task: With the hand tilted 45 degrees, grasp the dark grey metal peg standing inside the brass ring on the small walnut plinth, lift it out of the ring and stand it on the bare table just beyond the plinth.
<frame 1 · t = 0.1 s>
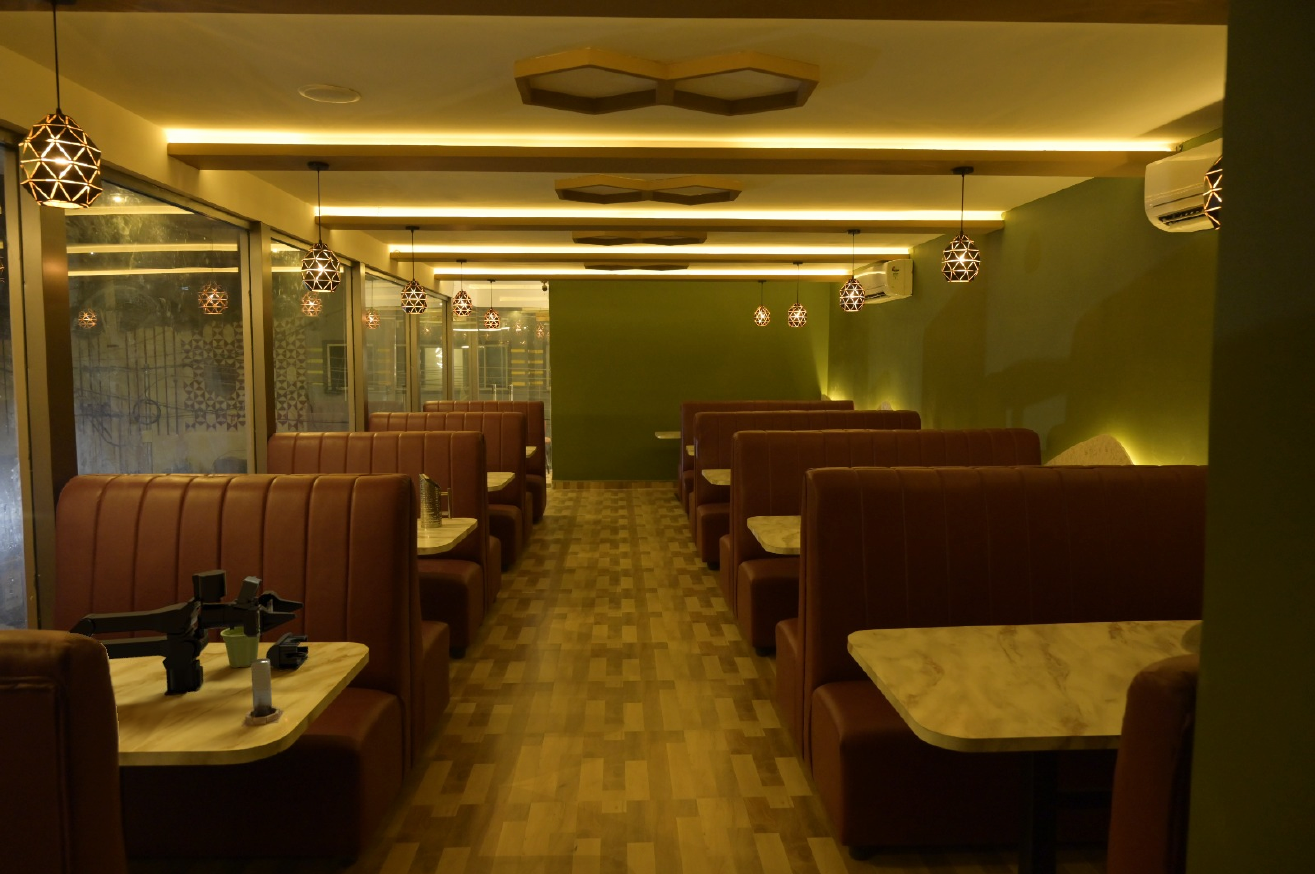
hand: (299, 610, 194), 17 cm above the table, tool horizontal, fingers open, 9 cm apart
plant pot: (243, 664, 207), on the table
peg: (263, 717, 171), point 1 cm above the table, touching ring stand
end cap: (288, 665, 206), on the table
ring stand: (263, 722, 171), on the table
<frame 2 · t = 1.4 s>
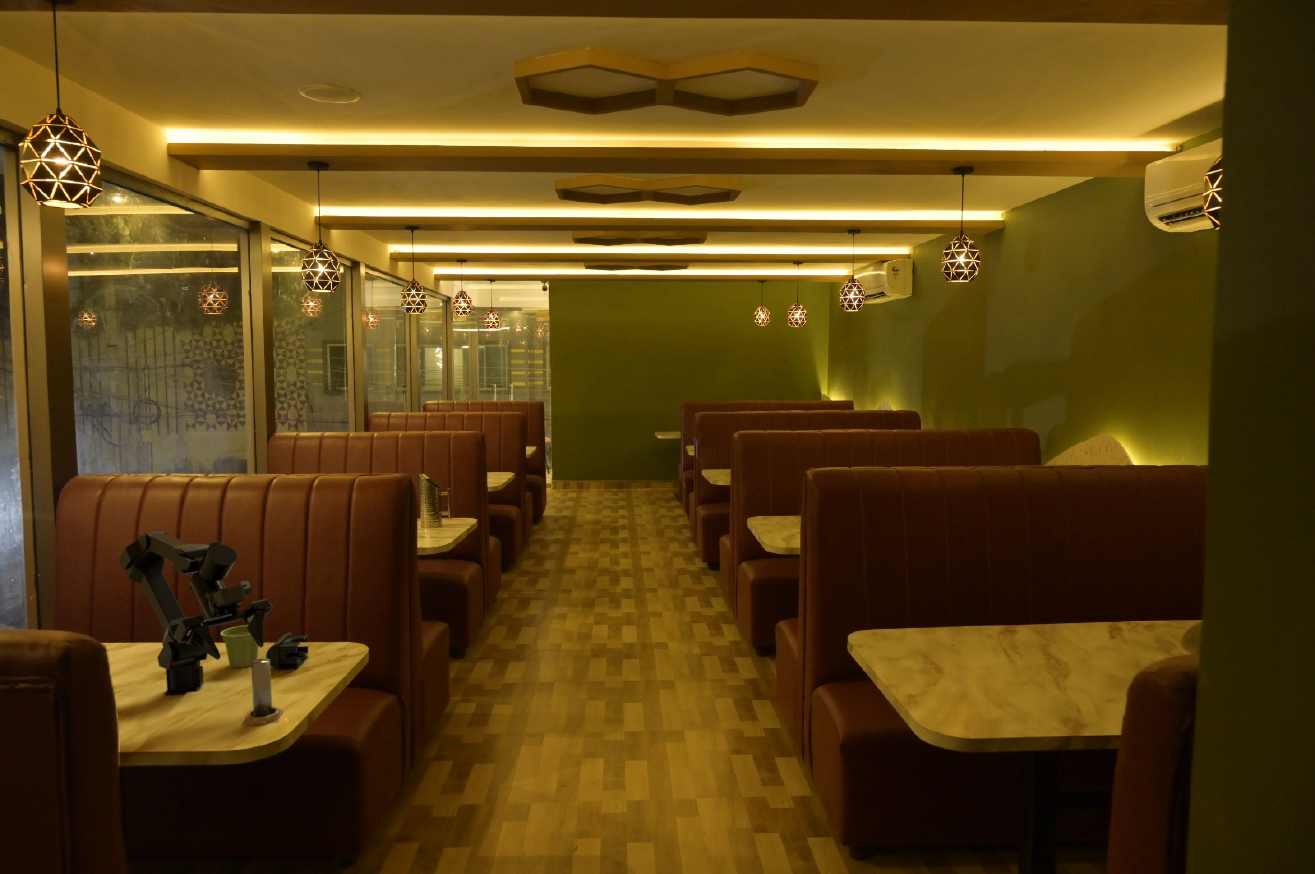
hand: (241, 652, 174), 13 cm above the table, tool tilted 45°, fingers open, 9 cm apart
nothing on the table moved.
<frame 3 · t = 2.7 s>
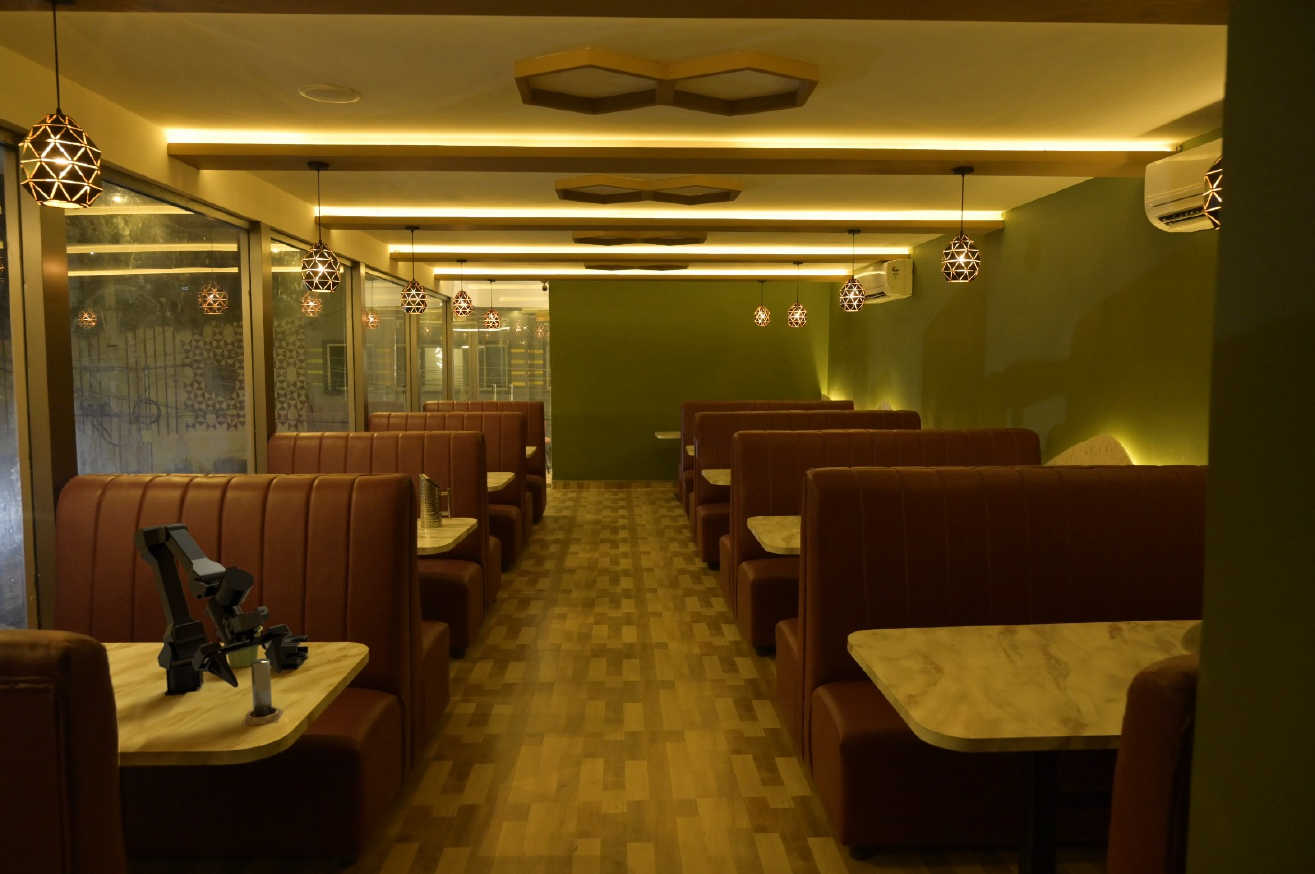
hand: (259, 679, 171), 9 cm above the table, tool tilted 45°, fingers open, 9 cm apart
nothing on the table moved.
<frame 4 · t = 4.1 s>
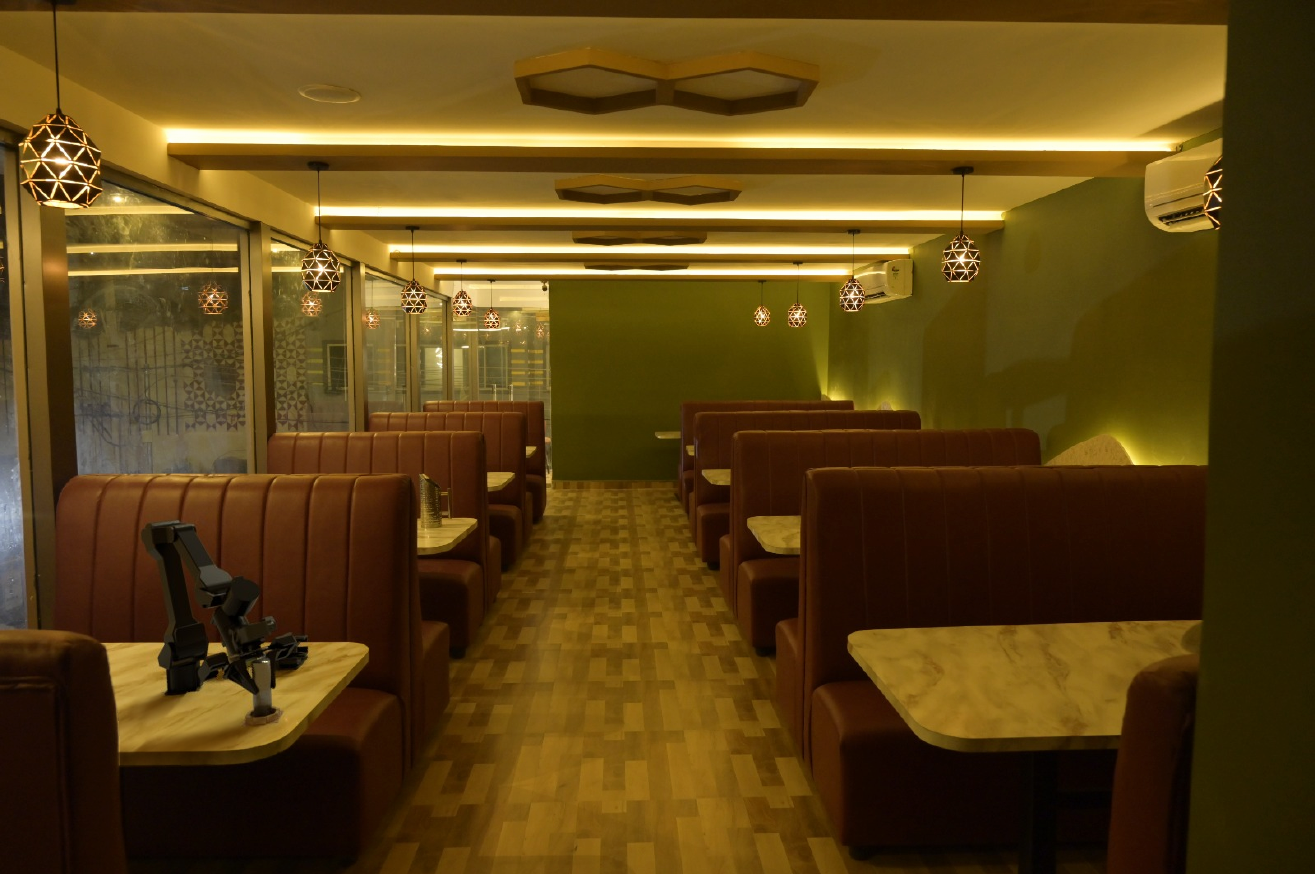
hand: (265, 690, 169), 7 cm above the table, tool tilted 45°, fingers closed on peg, 3 cm apart
peg: (263, 717, 171), point 1 cm above the table, touching gripper, ring stand
everything else where it was.
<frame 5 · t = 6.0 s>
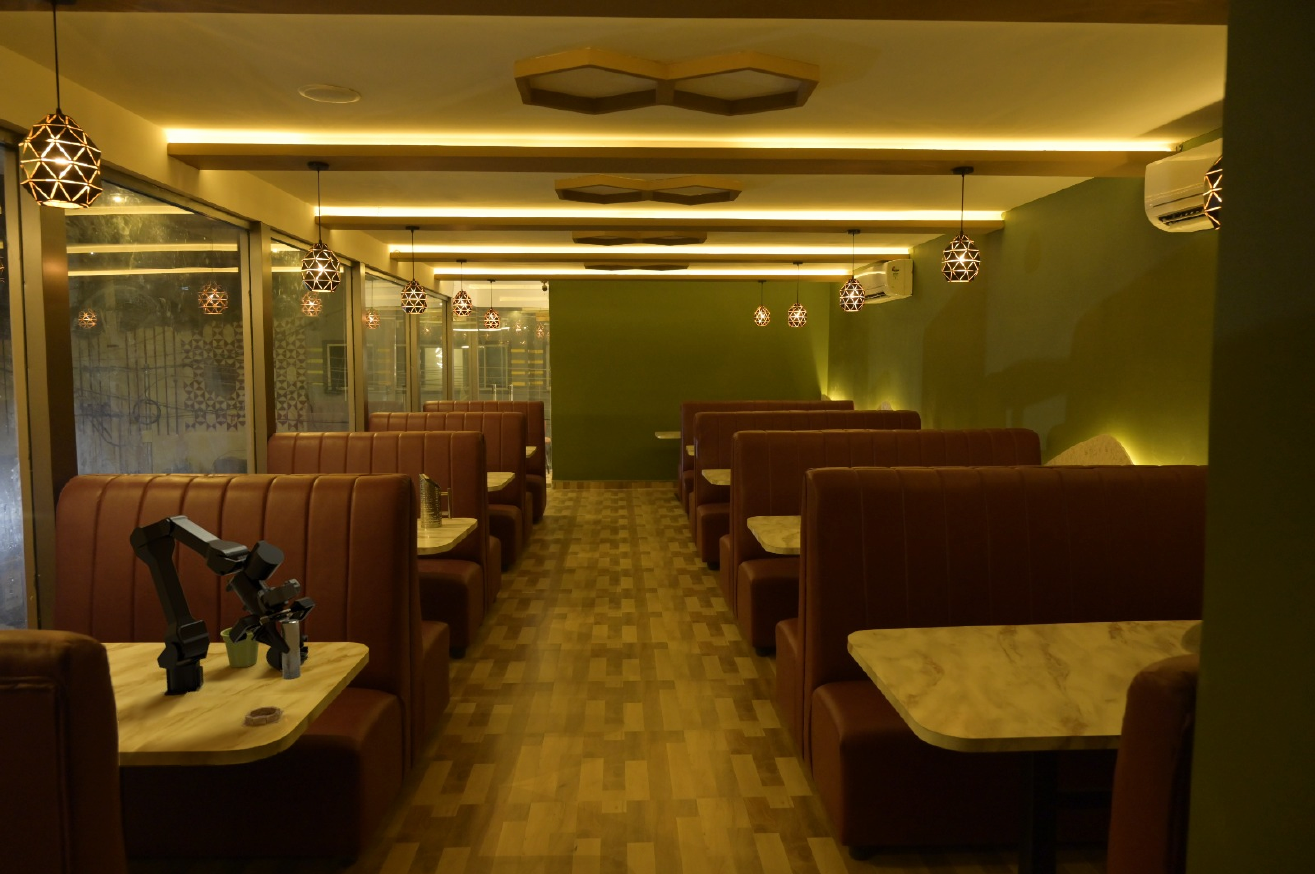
hand: (295, 649, 176), 13 cm above the table, tool tilted 45°, fingers closed on peg, 3 cm apart
peg: (291, 676, 177), point 7 cm above the table, touching gripper
everything else where it was.
when the fingers open (7 cm above the table, at t = 7.7 s): peg drops 1 cm, on the table.
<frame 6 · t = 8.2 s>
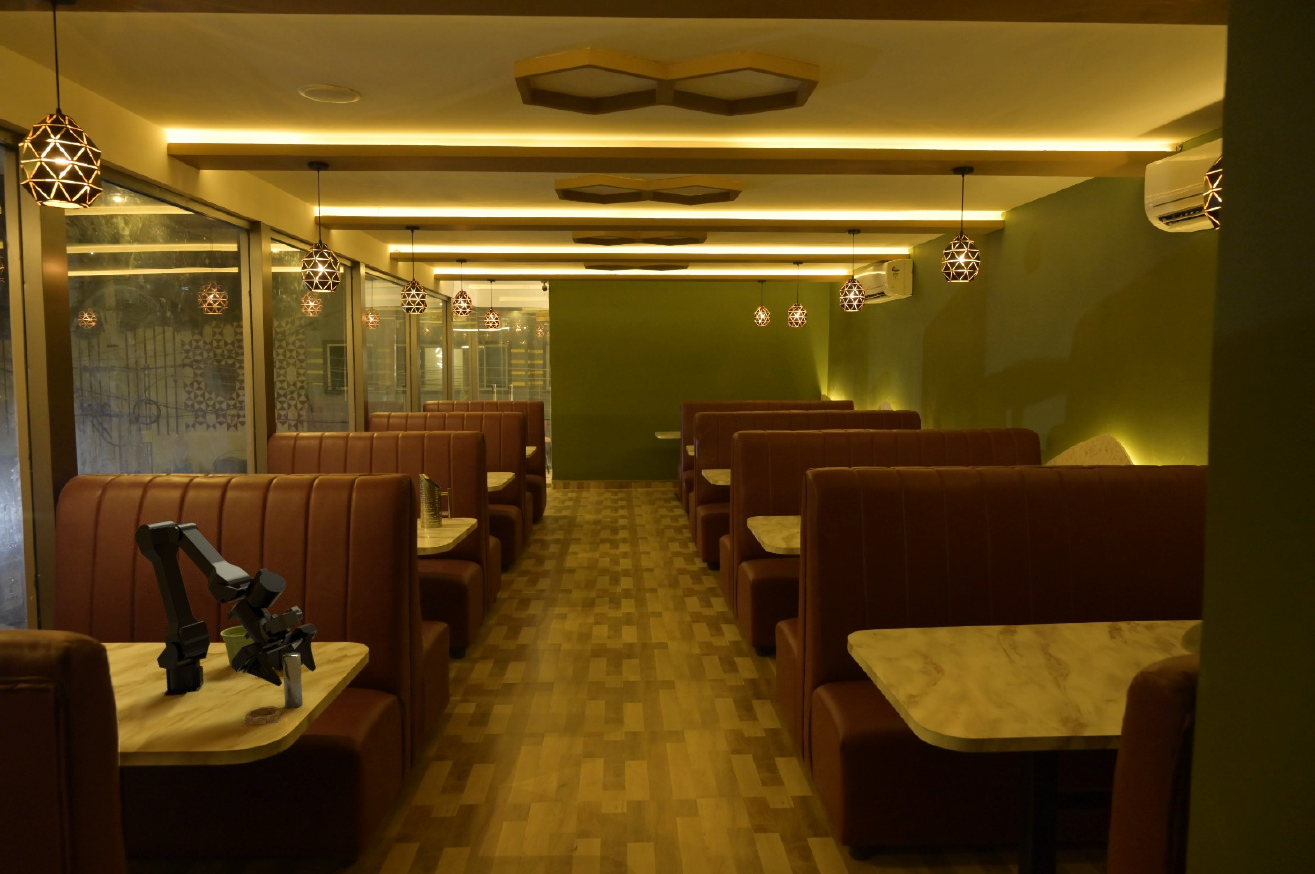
hand: (297, 677, 176), 7 cm above the table, tool tilted 45°, fingers open, 9 cm apart
peg: (294, 709, 177), on the table
everything else where it was.
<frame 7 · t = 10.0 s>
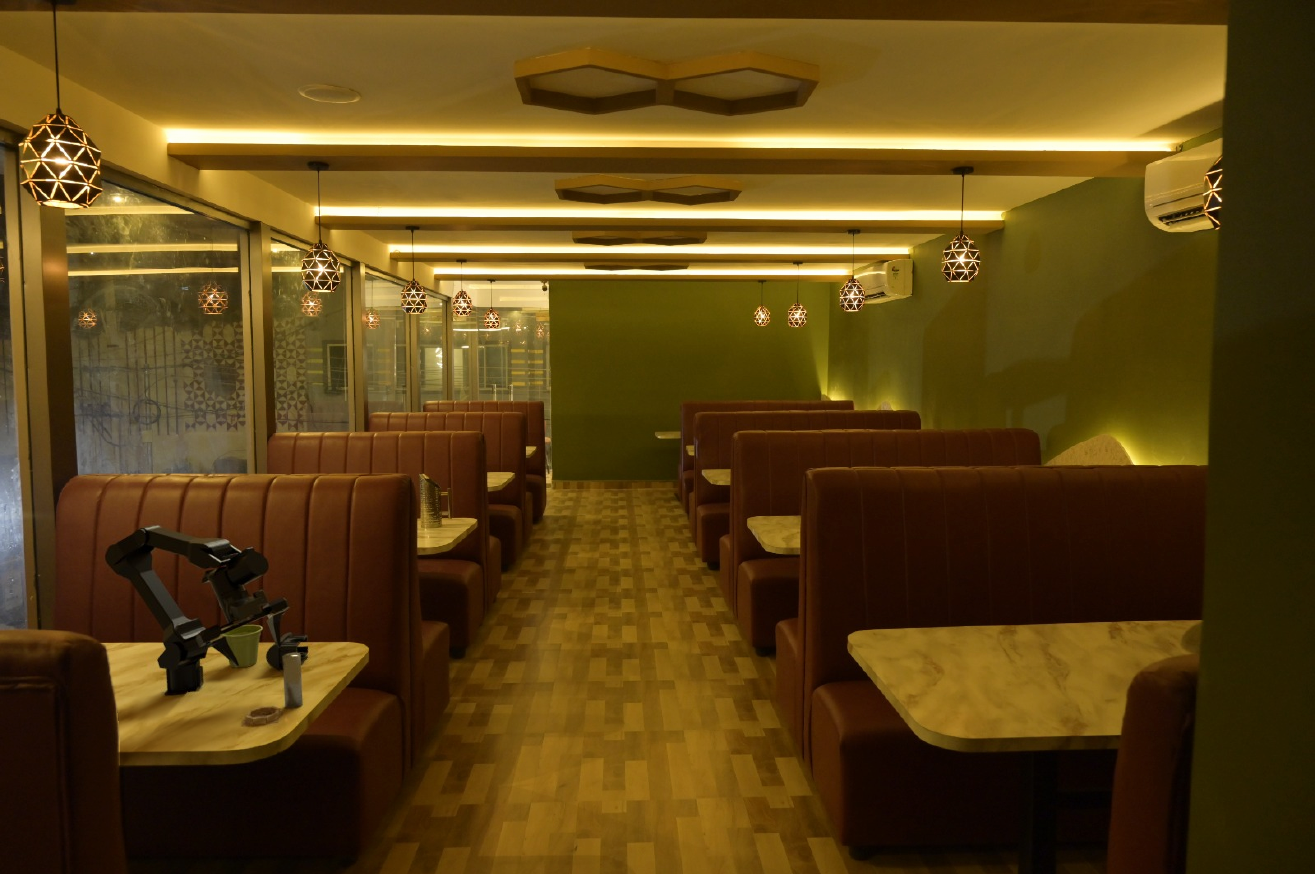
hand: (259, 656, 183), 10 cm above the table, tool tilted 25°, fingers open, 9 cm apart
nothing on the table moved.
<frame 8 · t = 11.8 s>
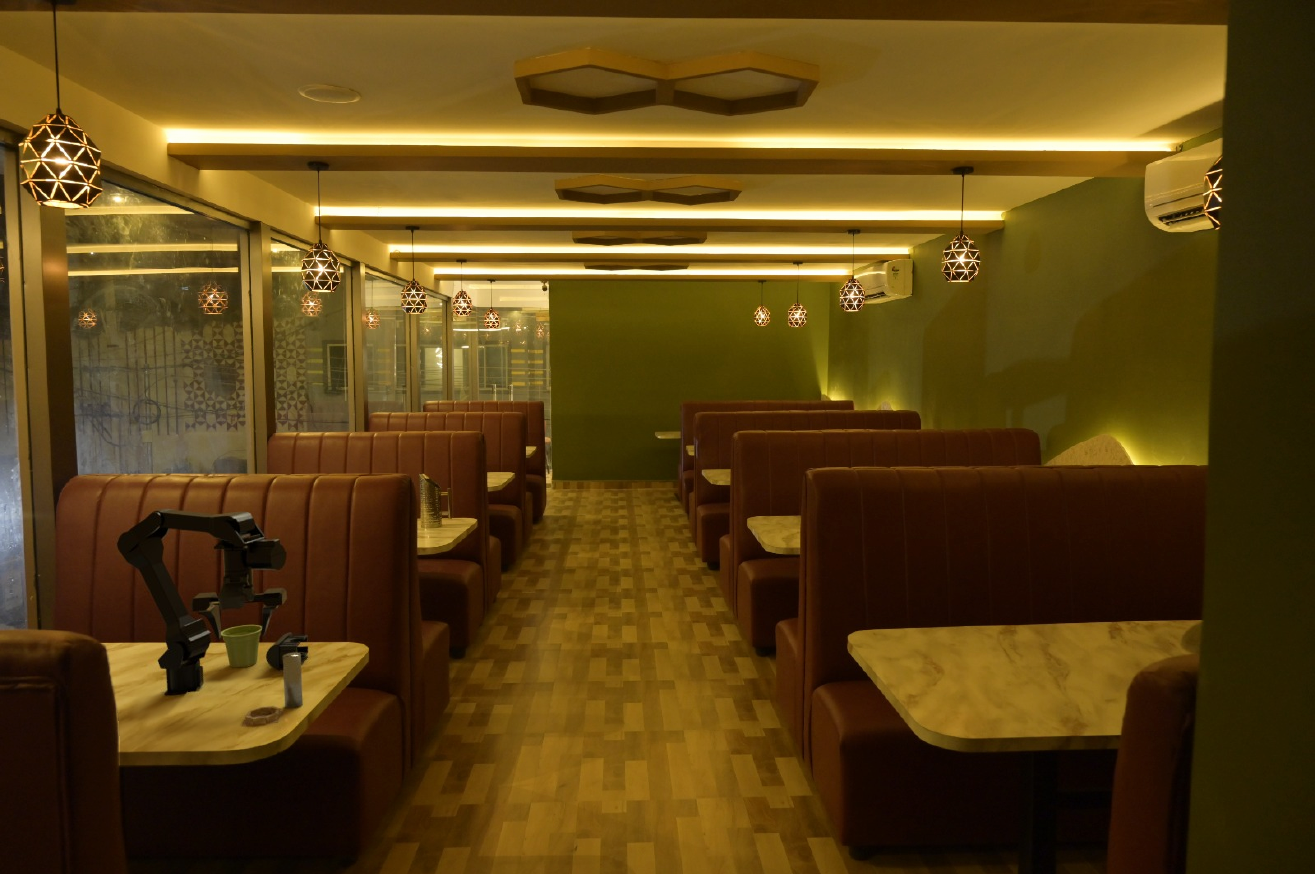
hand: (241, 636, 186), 13 cm above the table, tool pointing down, fingers open, 9 cm apart
nothing on the table moved.
at the end: peg inside the target area (0.0 cm from its centre), on the table; peg tilted 0°; the gripper is holding nothing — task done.
